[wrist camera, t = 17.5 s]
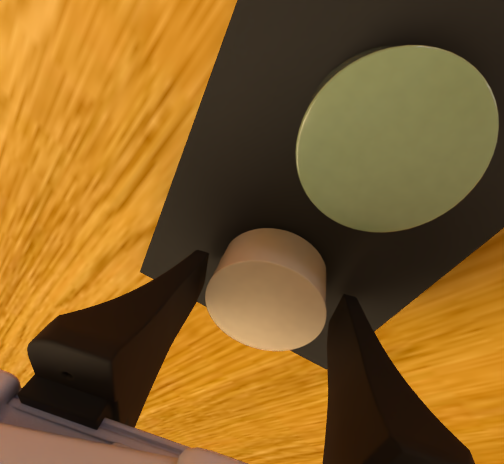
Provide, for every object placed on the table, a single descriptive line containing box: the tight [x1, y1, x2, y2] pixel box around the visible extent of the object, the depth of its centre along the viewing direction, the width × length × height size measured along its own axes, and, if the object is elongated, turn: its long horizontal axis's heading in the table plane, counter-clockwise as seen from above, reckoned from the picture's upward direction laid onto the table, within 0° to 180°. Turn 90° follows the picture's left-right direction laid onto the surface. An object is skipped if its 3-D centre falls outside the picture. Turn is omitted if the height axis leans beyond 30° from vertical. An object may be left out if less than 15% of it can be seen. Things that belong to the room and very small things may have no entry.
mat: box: [140, 0, 504, 369], centre depth 13 cm, size 13×18×1 cm
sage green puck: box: [295, 45, 499, 232], centre depth 10 cm, size 5×5×3 cm
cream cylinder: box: [205, 228, 327, 351], centre depth 14 cm, size 5×5×3 cm
